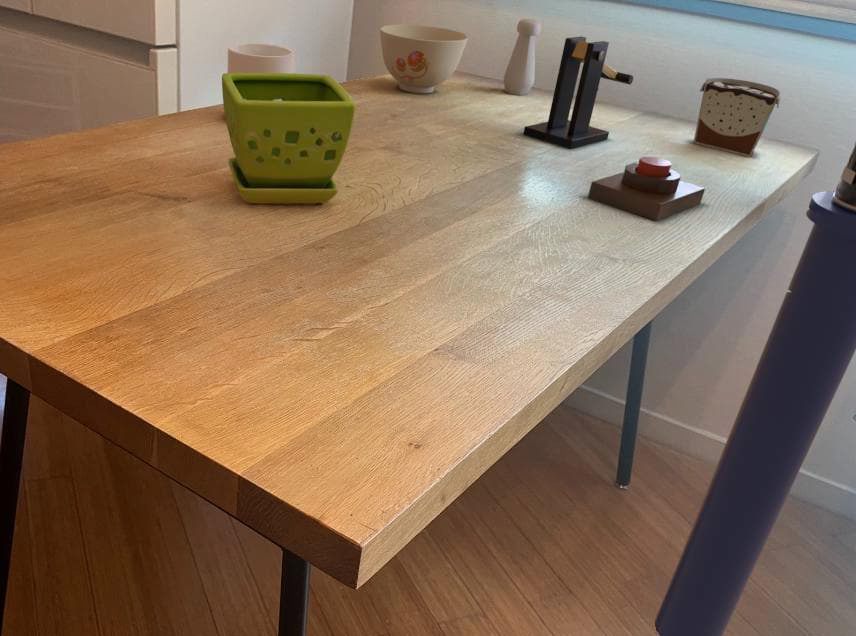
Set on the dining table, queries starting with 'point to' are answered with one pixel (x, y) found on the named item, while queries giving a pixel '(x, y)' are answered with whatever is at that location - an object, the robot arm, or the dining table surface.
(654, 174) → the button
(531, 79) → the salt shaker
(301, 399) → the dining table surface
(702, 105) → the food container
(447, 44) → the bowl
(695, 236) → the dining table surface
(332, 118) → the flower pot
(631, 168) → the block
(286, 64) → the mug
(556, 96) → the lock bracket
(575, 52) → the lever
